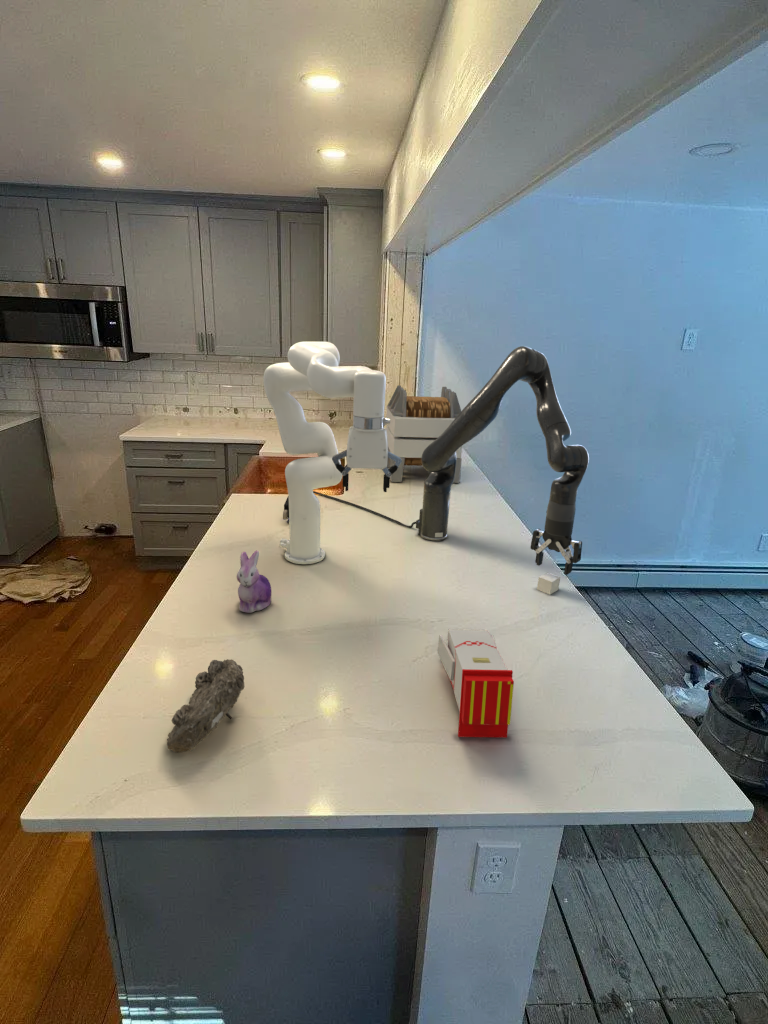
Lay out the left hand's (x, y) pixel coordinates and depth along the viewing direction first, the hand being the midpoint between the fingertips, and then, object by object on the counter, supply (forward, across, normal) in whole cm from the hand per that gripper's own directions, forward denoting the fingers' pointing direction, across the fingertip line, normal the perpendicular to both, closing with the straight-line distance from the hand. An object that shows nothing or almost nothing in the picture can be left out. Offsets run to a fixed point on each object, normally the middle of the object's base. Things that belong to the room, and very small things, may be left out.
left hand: (365, 490), depth 143 cm
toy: (+31, -22, +39) cm, 55 cm away
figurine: (+31, +28, +4) cm, 42 cm away
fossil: (+31, +29, +47) cm, 63 cm away
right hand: (+25, -55, -8) cm, 61 cm away
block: (+31, -54, -7) cm, 63 cm away
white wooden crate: (+32, -31, -127) cm, 134 cm away
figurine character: (+32, +24, -61) cm, 73 cm away
